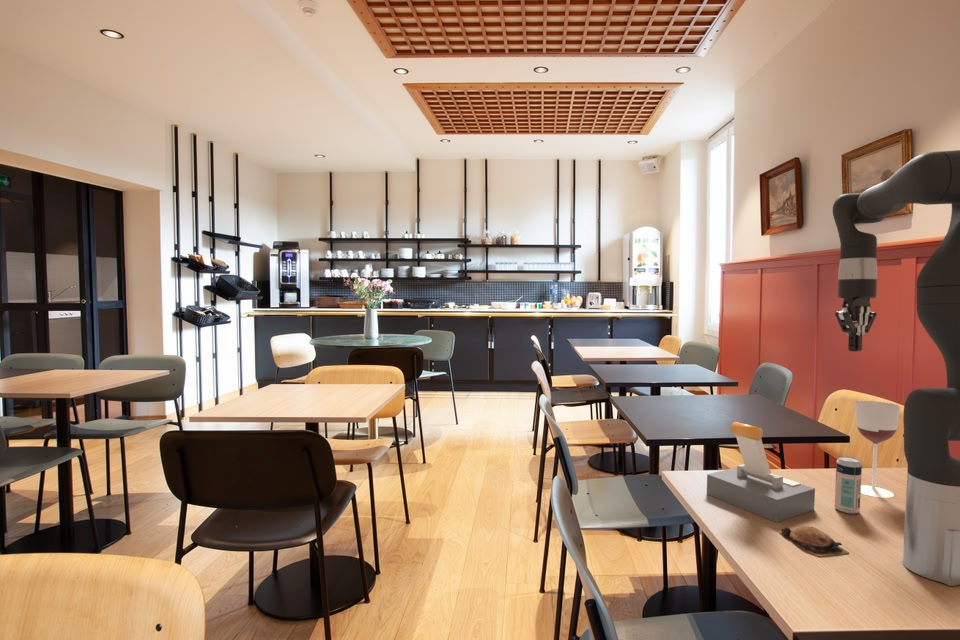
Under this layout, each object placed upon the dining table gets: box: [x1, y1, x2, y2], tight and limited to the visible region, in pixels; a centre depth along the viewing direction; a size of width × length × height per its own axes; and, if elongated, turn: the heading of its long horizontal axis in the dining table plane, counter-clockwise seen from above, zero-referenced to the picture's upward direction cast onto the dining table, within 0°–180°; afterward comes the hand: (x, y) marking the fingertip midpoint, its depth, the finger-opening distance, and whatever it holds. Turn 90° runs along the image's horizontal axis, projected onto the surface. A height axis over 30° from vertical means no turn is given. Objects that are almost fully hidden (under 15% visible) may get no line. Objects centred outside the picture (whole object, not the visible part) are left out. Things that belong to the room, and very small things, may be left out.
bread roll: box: [778, 525, 850, 558], centre depth 107 cm, size 11×8×4 cm
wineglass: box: [854, 400, 901, 499], centre depth 133 cm, size 9×10×22 cm
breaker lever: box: [730, 421, 774, 483], centre depth 125 cm, size 3×7×15 cm, turn 28°
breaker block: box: [706, 463, 816, 523], centre depth 127 cm, size 14×18×8 cm
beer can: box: [834, 456, 863, 515], centre depth 122 cm, size 5×5×12 cm
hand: (855, 351), depth 126 cm, fingers closed
